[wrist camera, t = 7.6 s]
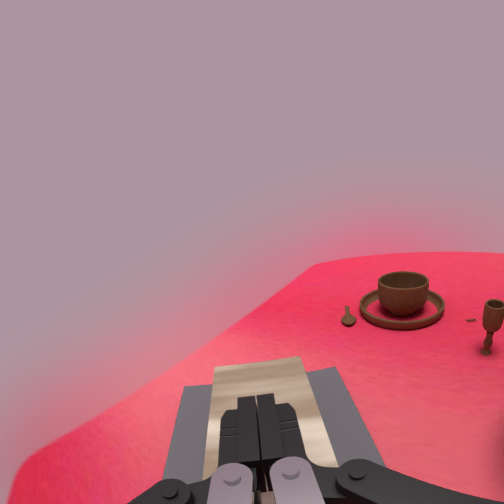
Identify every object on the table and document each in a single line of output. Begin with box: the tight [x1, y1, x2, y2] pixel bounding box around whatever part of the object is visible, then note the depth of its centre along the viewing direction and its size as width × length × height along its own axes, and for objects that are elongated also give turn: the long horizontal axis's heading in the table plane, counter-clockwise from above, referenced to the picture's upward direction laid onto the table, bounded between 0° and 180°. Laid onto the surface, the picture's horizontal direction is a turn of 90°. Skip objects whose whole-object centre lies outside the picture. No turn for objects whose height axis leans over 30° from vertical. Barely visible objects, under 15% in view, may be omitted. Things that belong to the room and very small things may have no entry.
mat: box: [162, 367, 386, 484], centre depth 14 cm, size 22×14×1 cm, turn 2°
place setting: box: [341, 271, 504, 355], centre depth 31 cm, size 18×20×6 cm
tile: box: [202, 356, 339, 504], centre depth 16 cm, size 3×7×14 cm
